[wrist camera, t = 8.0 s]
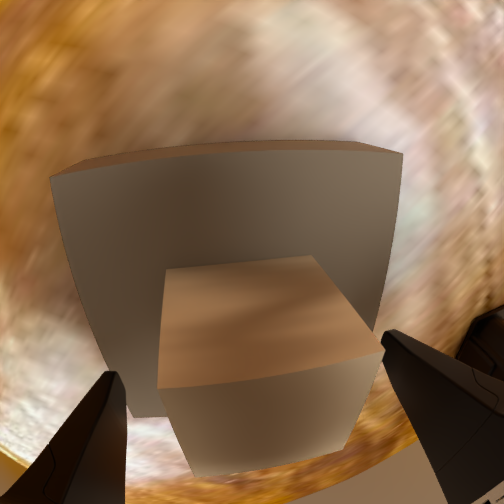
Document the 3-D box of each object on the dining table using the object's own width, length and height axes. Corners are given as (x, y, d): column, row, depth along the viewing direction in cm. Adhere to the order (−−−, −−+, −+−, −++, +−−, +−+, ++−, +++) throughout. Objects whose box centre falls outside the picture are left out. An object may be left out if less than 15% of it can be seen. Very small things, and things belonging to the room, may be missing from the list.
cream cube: (311, 255, 11) (385, 349, 6) (300, 356, 13) (342, 449, 8) (166, 269, 10) (157, 388, 5) (186, 372, 12) (195, 477, 8)
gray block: (352, 140, 13) (403, 153, 10) (330, 339, 18) (356, 384, 15) (88, 158, 11) (49, 177, 8) (138, 364, 16) (133, 417, 13)
